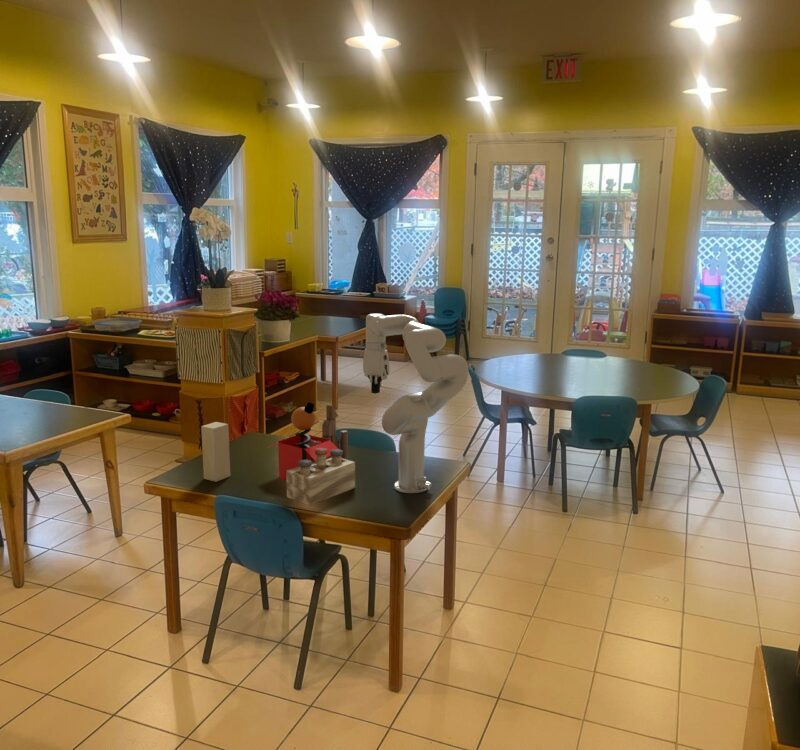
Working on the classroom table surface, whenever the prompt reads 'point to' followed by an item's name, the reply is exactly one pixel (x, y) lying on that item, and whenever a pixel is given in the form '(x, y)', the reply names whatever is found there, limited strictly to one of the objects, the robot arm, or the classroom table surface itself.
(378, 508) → the classroom table surface
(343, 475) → the wooden cylinder block
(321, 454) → the plug mid
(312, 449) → the jack-in-the-box
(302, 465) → the plug
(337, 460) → the plug
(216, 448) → the toy refrigerator
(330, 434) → the wooden toy
